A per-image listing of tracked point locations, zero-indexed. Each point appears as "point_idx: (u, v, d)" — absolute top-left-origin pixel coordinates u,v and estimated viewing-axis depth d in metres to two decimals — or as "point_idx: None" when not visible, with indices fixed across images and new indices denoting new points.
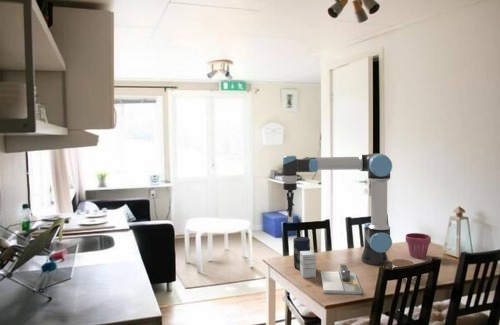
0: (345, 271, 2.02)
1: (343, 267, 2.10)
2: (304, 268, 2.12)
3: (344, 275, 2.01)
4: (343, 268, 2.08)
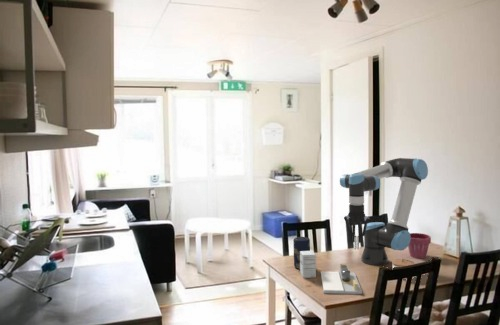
0: (345, 271, 2.02)
1: (343, 267, 2.10)
2: (304, 268, 2.12)
3: (344, 275, 2.01)
4: (343, 268, 2.08)
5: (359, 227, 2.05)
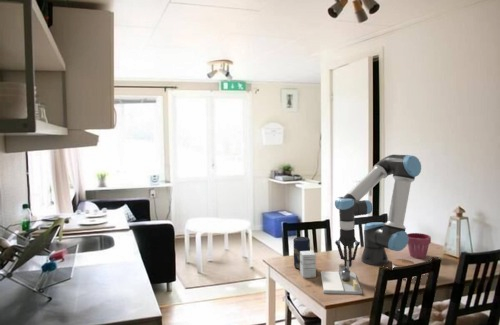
0: (345, 271, 2.02)
1: (342, 267, 2.10)
2: (304, 268, 2.12)
3: (344, 275, 2.01)
4: (342, 268, 2.08)
5: (349, 251, 2.08)
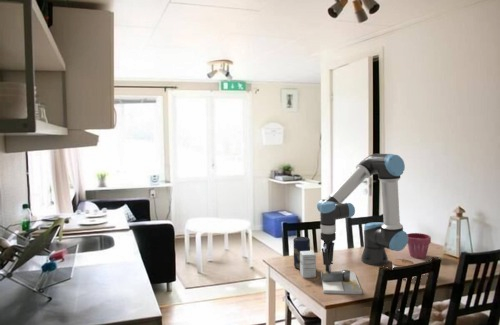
0: (346, 271, 2.02)
1: (332, 272, 2.02)
2: (304, 268, 2.12)
3: (349, 274, 2.02)
4: (335, 272, 2.02)
5: (331, 254, 2.05)
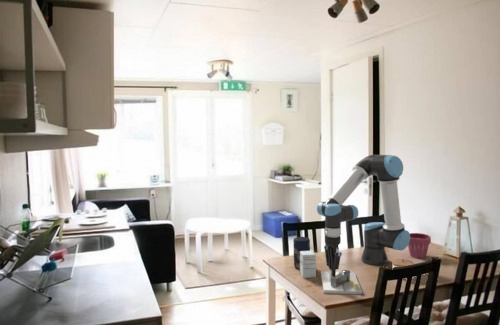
0: (346, 271, 2.03)
1: (339, 276, 1.97)
2: (304, 268, 2.12)
3: None
4: (341, 275, 1.98)
5: None
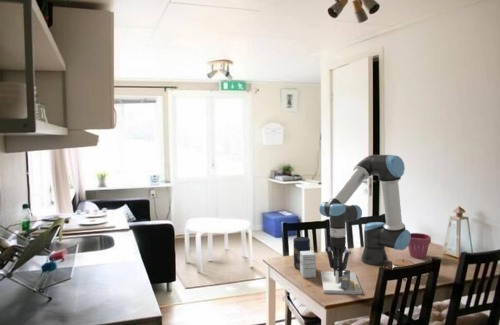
0: (346, 270, 2.03)
1: (345, 277, 1.96)
2: (304, 268, 2.12)
3: None
4: (346, 275, 1.97)
5: None
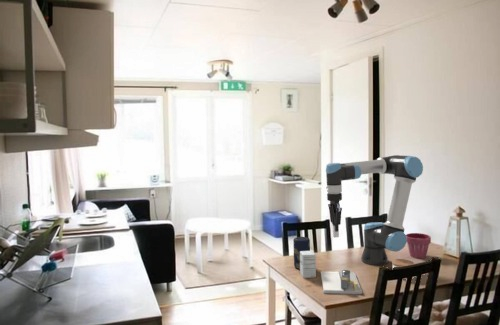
0: (346, 270, 2.03)
1: (345, 277, 1.96)
2: (304, 268, 2.12)
3: None
4: (346, 275, 1.97)
5: None
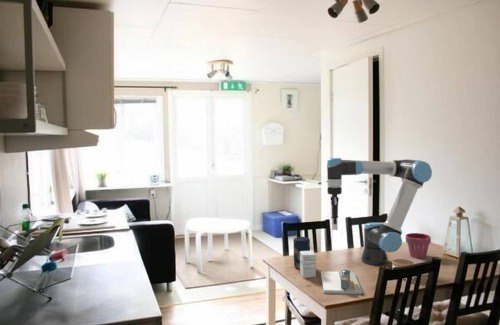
0: (346, 270, 2.03)
1: (345, 277, 1.96)
2: (304, 268, 2.12)
3: None
4: (346, 275, 1.97)
5: None
